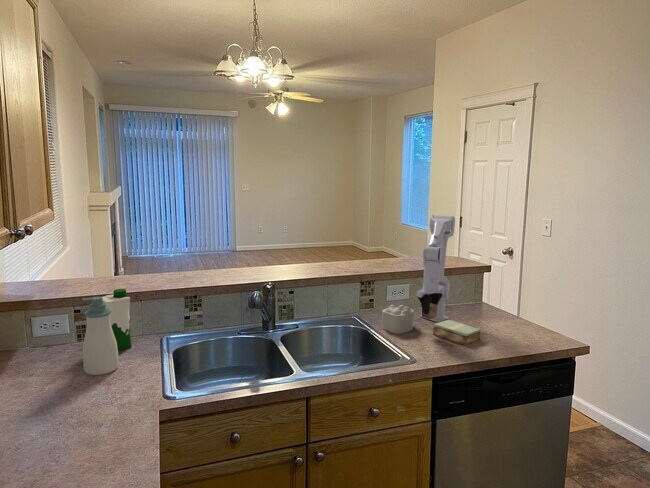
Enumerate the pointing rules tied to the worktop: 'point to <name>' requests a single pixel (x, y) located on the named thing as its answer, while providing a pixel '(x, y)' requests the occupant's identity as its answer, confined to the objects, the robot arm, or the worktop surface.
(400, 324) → the lumpy-topped squat cylinder
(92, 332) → the soap bottle
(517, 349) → the worktop surface
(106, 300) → the milk carton
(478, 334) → the box
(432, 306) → the walnut block
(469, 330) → the lid
